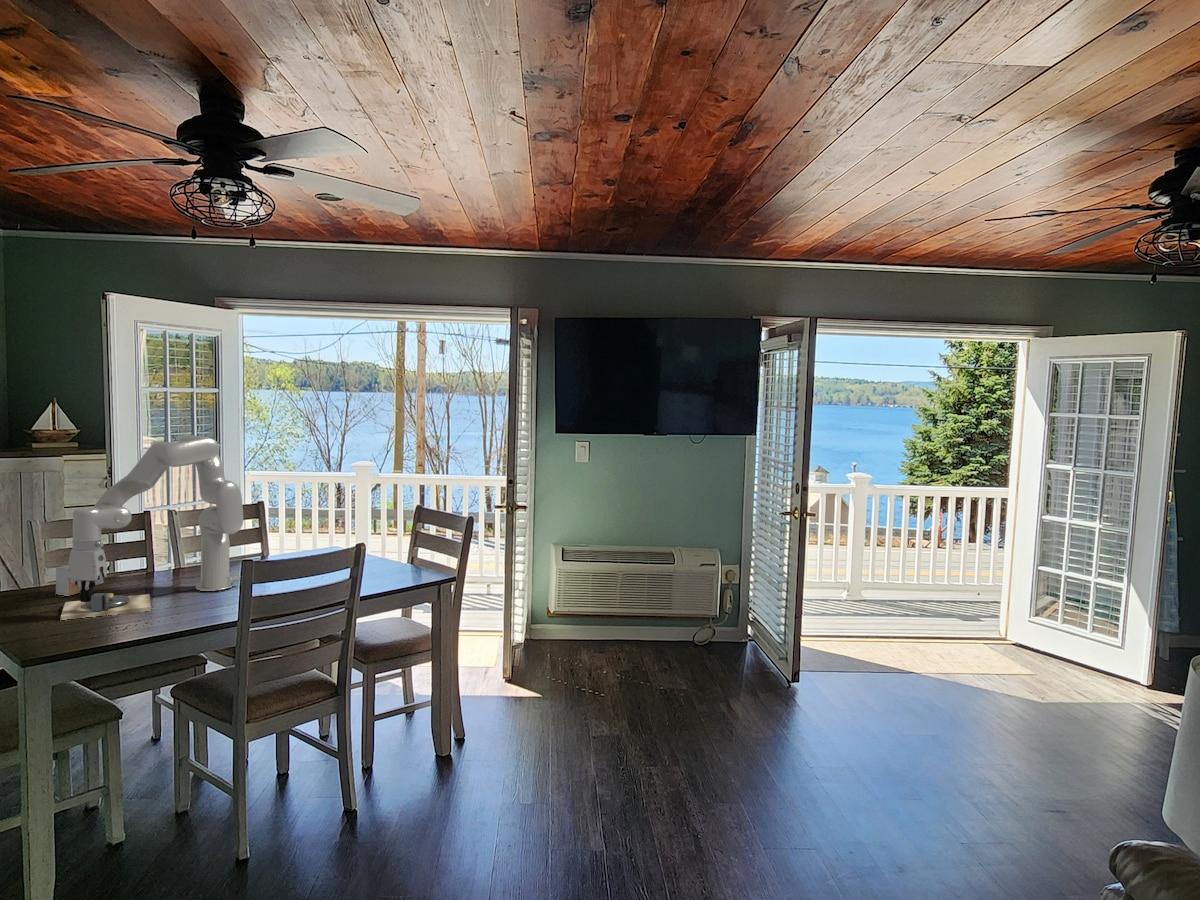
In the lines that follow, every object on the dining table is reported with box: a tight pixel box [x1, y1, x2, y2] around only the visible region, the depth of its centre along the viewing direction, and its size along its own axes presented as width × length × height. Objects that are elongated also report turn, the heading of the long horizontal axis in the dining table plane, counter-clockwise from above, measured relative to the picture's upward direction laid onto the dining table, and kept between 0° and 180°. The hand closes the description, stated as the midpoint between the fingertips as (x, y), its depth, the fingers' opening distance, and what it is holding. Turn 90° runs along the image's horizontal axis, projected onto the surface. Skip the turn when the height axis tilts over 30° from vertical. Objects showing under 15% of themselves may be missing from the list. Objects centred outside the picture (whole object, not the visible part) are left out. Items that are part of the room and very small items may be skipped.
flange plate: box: [86, 592, 129, 611], centre depth 230 cm, size 15×12×5 cm
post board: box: [60, 592, 152, 621], centre depth 232 cm, size 24×18×6 cm
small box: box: [55, 564, 80, 597], centre depth 247 cm, size 8×6×10 cm
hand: (86, 600), depth 224 cm, fingers closed
